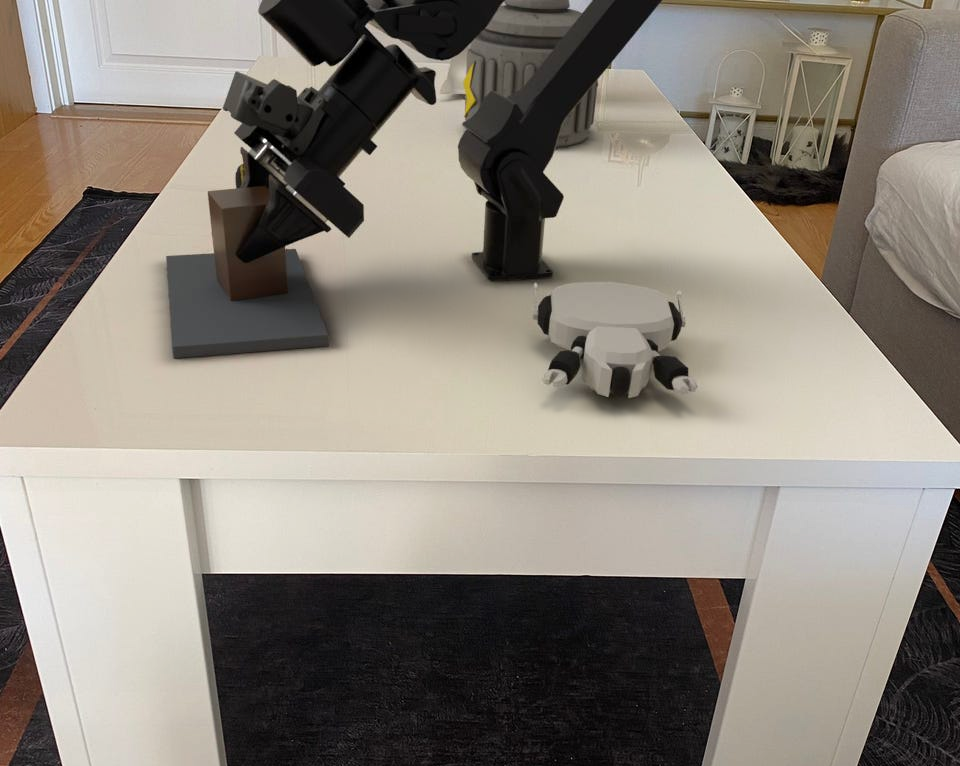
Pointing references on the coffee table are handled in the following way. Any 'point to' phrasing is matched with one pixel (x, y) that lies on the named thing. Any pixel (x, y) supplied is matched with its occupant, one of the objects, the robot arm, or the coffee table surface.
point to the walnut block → (229, 229)
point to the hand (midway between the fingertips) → (232, 249)
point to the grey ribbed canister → (523, 58)
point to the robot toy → (612, 337)
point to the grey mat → (238, 312)
